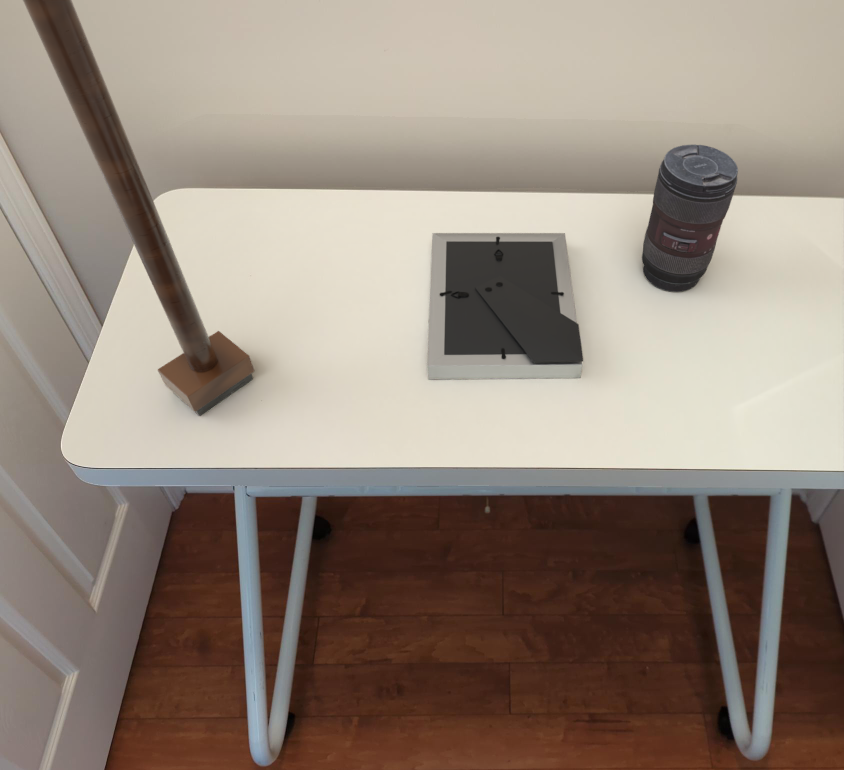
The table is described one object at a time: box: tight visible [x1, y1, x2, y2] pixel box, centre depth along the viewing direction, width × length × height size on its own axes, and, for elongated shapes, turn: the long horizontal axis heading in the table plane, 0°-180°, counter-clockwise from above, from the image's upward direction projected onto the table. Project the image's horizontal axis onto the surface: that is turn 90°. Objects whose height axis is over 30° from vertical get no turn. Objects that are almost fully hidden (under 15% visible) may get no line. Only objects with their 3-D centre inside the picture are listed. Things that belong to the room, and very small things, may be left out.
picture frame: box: [426, 232, 584, 380], centre depth 83 cm, size 16×3×21 cm
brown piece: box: [22, 0, 255, 417], centre depth 60 cm, size 7×5×40 cm
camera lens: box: [641, 144, 739, 293], centre depth 83 cm, size 8×8×15 cm
